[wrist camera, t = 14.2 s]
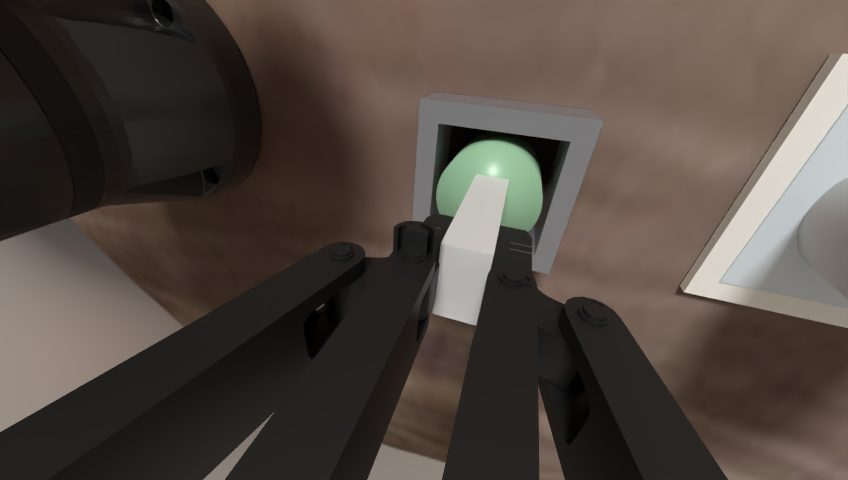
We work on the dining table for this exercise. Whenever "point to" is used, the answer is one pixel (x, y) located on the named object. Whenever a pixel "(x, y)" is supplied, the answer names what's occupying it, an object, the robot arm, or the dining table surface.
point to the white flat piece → (783, 213)
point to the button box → (516, 118)
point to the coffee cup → (828, 236)
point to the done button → (500, 160)
